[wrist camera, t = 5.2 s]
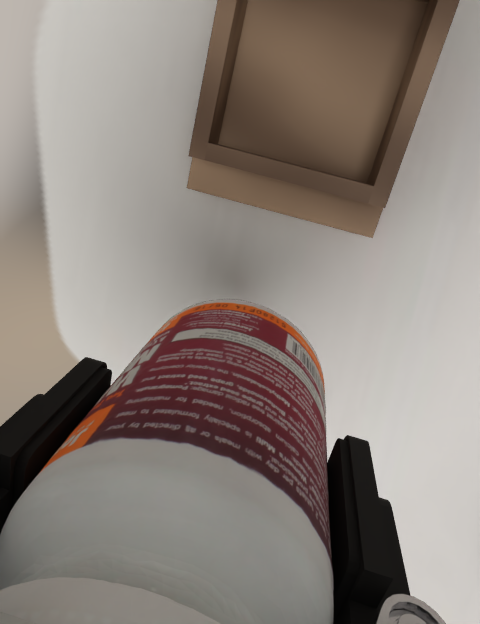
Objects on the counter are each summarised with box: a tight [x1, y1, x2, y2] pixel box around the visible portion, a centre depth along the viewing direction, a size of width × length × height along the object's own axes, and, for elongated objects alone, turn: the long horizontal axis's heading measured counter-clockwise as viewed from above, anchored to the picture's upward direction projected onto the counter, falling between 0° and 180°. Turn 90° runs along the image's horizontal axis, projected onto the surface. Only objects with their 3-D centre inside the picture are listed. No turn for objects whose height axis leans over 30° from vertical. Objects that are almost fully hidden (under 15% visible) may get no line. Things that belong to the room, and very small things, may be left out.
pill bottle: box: [0, 299, 334, 624], centre depth 10 cm, size 6×6×11 cm
